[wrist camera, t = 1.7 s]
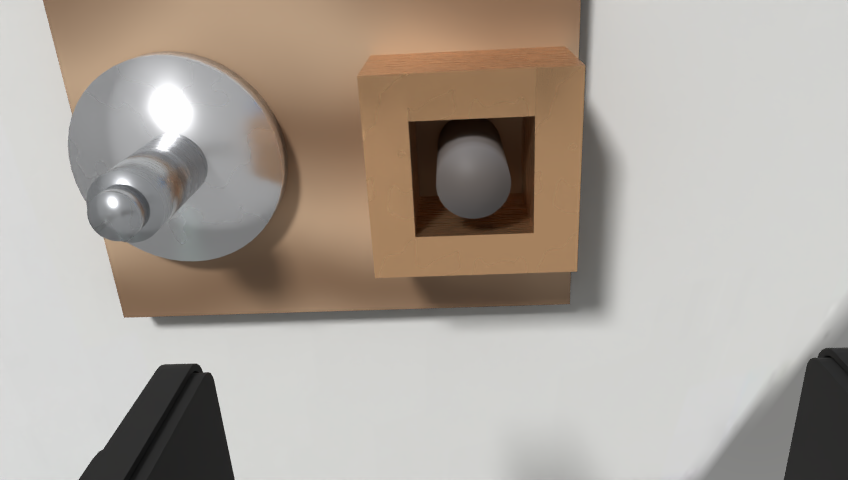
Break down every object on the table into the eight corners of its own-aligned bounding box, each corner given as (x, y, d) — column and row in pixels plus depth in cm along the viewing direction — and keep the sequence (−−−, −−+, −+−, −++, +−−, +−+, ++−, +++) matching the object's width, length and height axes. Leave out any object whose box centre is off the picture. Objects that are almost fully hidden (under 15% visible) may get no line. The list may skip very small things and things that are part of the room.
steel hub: (299, 247, 28) (262, 327, 23) (107, 254, 29) (22, 334, 23) (272, 46, 25) (221, 78, 19) (57, 56, 26) (-56, 91, 20)
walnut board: (564, 287, 30) (589, 365, 25) (138, 300, 31) (72, 378, 26) (575, -62, 25) (611, -61, 19) (56, -33, 26) (-49, -24, 20)
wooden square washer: (559, 226, 28) (576, 271, 24) (384, 233, 28) (374, 278, 24) (564, 45, 25) (585, 65, 21) (370, 55, 25) (357, 75, 22)
